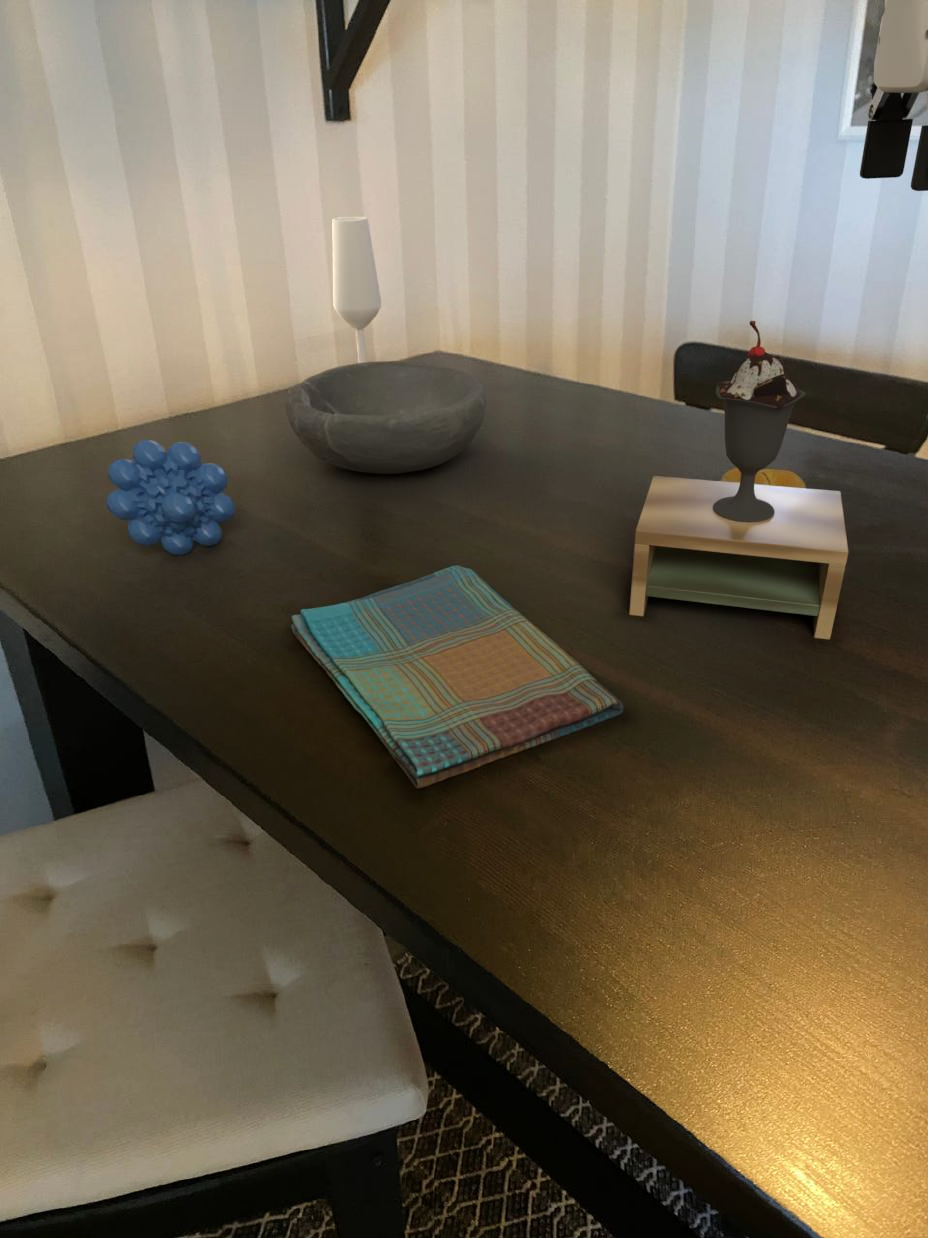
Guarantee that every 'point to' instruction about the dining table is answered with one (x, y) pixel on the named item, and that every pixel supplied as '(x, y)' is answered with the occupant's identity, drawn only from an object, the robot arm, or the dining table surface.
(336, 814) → the dining table surface
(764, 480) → the bread roll
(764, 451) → the sundae
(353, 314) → the champagne flute
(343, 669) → the dish towel
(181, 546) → the blue flower ornament
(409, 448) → the bowl
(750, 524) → the shelf
